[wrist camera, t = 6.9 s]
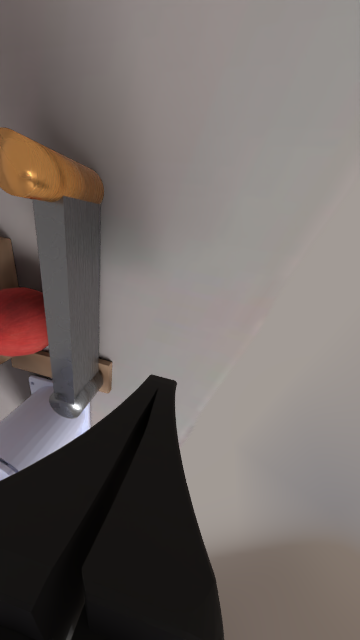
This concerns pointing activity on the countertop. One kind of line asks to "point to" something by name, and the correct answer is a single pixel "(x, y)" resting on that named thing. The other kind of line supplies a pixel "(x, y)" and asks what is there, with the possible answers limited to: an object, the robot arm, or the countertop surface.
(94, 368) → the lever
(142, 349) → the countertop surface
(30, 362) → the bench
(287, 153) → the countertop surface
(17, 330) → the onion
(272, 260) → the countertop surface
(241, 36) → the countertop surface
